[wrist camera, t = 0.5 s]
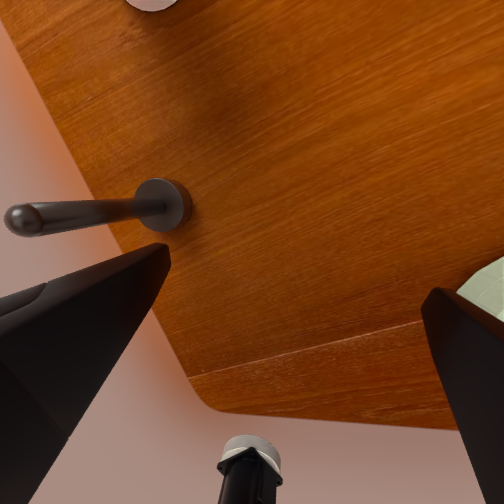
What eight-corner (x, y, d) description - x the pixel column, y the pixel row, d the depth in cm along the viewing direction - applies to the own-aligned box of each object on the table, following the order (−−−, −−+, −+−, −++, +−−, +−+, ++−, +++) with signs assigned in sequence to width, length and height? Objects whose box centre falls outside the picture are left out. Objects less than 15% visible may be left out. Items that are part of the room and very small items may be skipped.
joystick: (168, 238, 25) (22, 296, 11) (136, 201, 25) (-58, 214, 11) (202, 208, 24) (81, 231, 10) (168, 168, 23) (-7, 134, 9)
